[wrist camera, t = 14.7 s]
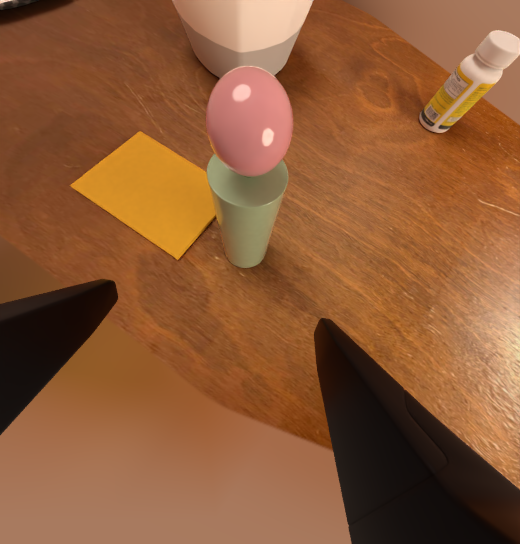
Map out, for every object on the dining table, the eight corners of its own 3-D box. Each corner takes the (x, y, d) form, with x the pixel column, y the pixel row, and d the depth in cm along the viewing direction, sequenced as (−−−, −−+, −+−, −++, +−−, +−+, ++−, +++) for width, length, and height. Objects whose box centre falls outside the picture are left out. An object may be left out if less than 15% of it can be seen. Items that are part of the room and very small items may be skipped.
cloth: (236, 193, 21) (236, 190, 21) (177, 260, 19) (176, 258, 18) (141, 134, 23) (140, 130, 22) (72, 188, 20) (69, 185, 19)
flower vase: (274, 247, 20) (341, 79, 7) (247, 276, 19) (259, 146, 5) (243, 221, 20) (246, 18, 7) (215, 249, 19) (152, 67, 6)
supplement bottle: (449, 119, 29) (530, 38, 21) (445, 138, 27) (528, 60, 19) (420, 106, 29) (488, 22, 21) (414, 125, 28) (484, 42, 20)
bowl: (242, 12, 32) (242, -110, 23) (321, 68, 30) (355, -46, 21) (154, 49, 27) (111, -88, 18) (239, 118, 25) (238, 0, 16)
